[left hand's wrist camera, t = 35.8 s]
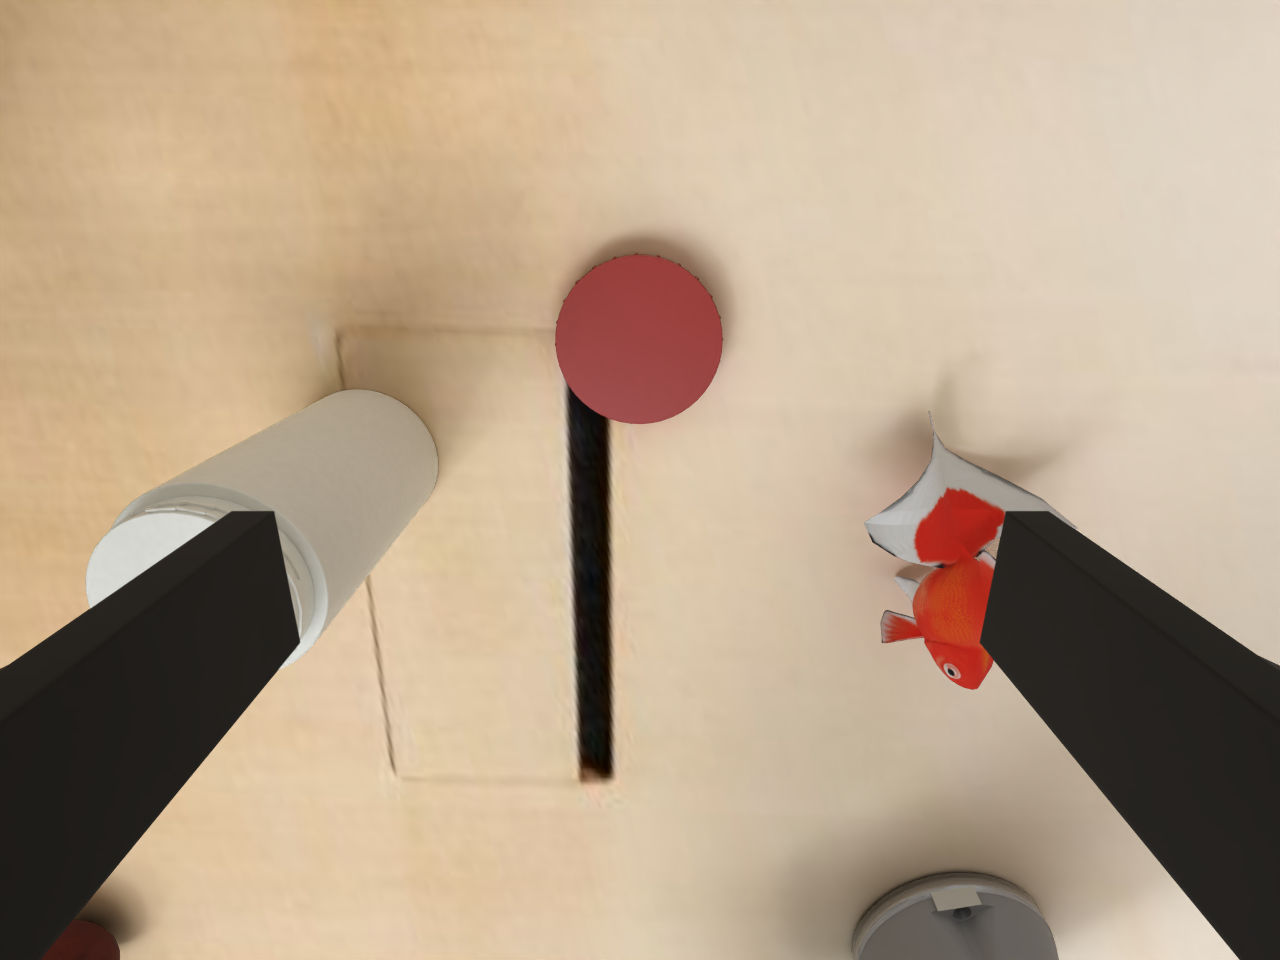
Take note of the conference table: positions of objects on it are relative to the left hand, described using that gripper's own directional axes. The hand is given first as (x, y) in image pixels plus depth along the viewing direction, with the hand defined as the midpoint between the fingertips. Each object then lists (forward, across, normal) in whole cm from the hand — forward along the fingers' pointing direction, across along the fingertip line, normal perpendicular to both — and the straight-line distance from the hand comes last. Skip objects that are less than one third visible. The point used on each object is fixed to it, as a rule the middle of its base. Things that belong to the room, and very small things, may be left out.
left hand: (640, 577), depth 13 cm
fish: (+28, -17, +11) cm, 35 cm away
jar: (+28, +16, +7) cm, 33 cm away
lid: (+26, 0, 0) cm, 26 cm away
